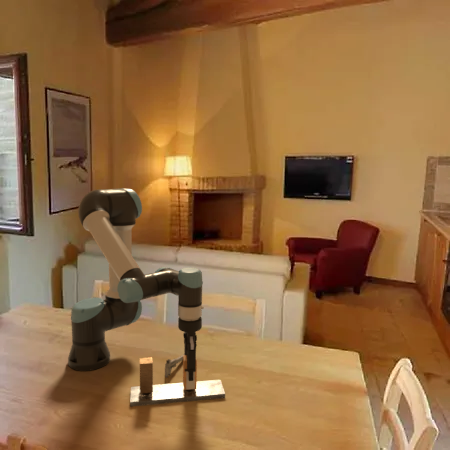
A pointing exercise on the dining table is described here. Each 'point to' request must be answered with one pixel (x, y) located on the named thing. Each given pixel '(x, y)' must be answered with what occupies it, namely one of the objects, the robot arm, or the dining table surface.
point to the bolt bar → (170, 389)
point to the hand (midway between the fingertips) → (189, 384)
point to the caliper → (171, 365)
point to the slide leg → (185, 372)
